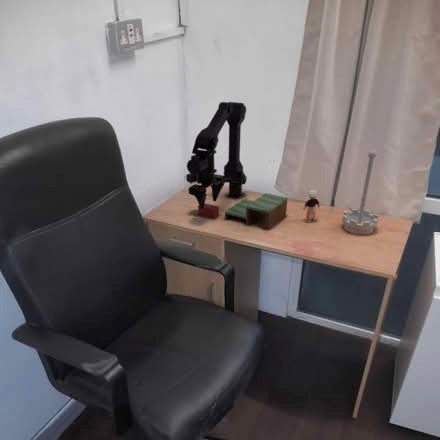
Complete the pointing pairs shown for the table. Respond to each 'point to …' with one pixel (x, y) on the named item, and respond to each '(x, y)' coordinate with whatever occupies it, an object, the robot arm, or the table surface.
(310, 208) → the grandmother figurine
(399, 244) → the table surface
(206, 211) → the red rectangular block
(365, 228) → the flag stand
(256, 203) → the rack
